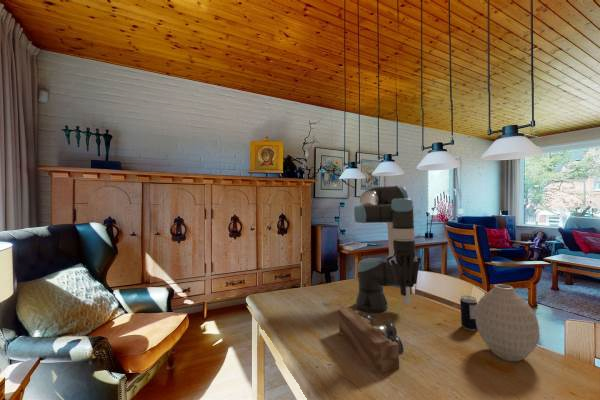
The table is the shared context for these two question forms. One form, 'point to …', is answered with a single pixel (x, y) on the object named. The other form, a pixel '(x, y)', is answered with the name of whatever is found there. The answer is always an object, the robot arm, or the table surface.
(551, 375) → the table surface
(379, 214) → the robot arm
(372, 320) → the knob
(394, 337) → the knob
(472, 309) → the beverage can
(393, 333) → the knob
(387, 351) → the wooden rack
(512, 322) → the vase
